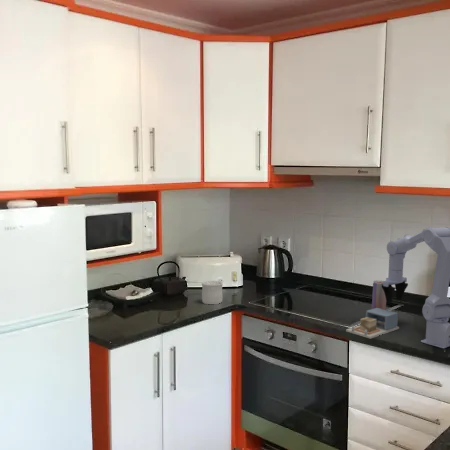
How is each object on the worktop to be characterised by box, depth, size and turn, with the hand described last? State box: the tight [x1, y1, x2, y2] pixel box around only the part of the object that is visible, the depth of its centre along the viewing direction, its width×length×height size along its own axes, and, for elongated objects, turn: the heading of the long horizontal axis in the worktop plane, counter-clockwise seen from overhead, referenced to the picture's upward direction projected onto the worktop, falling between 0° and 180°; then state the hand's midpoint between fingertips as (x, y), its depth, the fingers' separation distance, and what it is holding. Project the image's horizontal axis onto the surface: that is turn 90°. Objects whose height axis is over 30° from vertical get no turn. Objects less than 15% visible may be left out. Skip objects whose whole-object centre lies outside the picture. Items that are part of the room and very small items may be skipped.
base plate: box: [345, 320, 400, 339], centre depth 222 cm, size 12×20×3 cm, turn 130°
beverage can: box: [371, 279, 387, 310], centre depth 244 cm, size 6×6×15 cm
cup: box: [201, 280, 224, 305], centre depth 262 cm, size 10×10×10 cm
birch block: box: [359, 316, 377, 332], centre depth 219 cm, size 4×4×4 cm
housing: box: [365, 308, 399, 330], centre depth 225 cm, size 10×8×6 cm
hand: (394, 300), depth 230 cm, fingers open, 7 cm apart
